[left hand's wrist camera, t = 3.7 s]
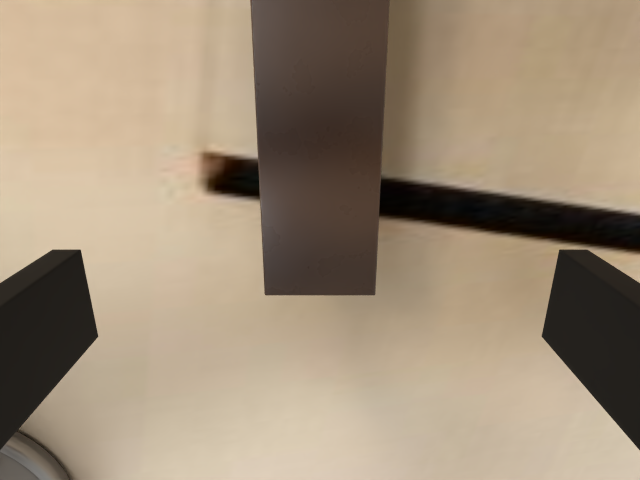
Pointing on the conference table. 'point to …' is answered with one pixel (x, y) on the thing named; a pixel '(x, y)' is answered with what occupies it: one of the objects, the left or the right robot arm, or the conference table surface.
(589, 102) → the conference table surface
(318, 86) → the beam
